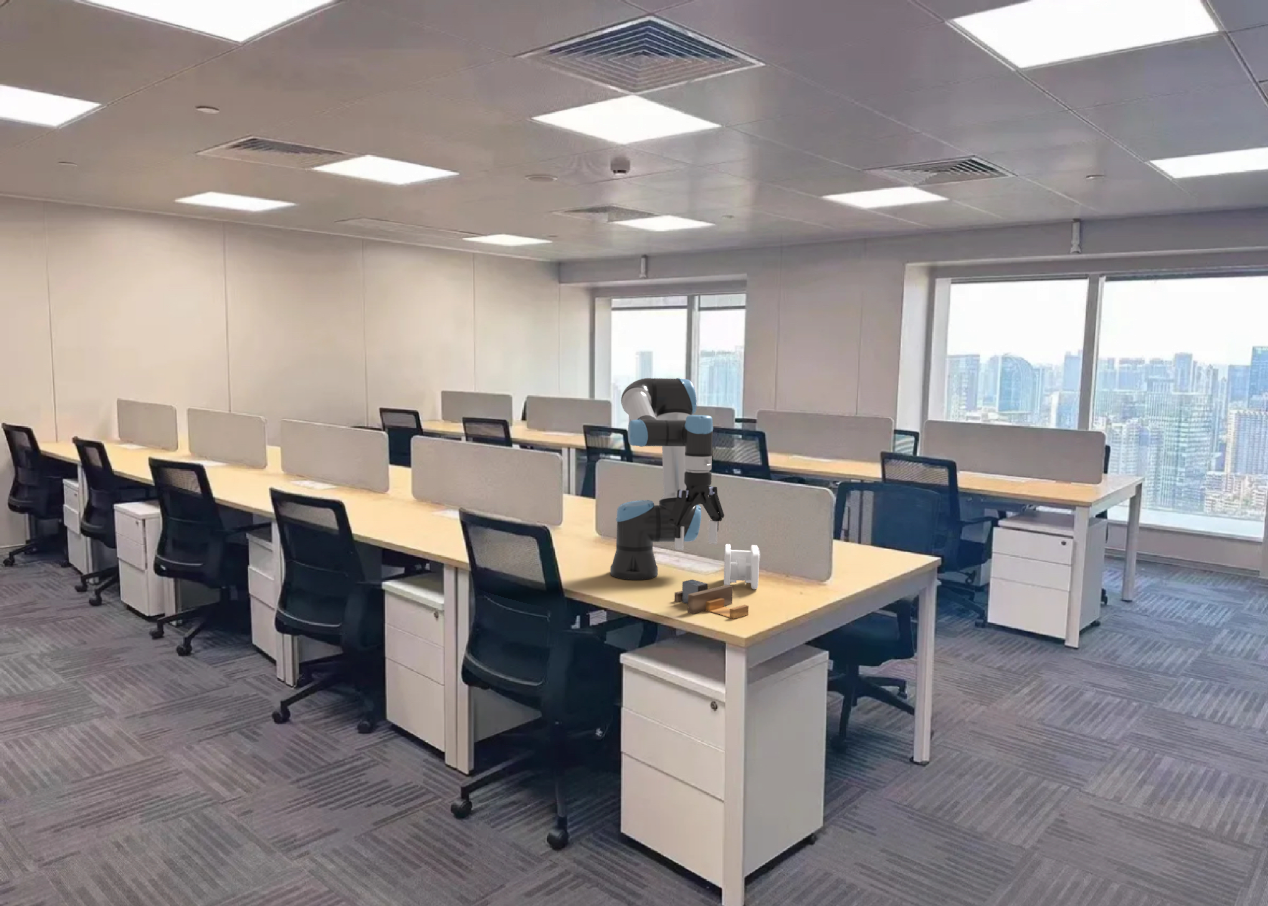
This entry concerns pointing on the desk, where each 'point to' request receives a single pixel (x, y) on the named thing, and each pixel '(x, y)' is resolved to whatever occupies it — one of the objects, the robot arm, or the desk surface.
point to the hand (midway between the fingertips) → (696, 546)
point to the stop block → (692, 588)
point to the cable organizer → (741, 565)
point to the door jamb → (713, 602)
